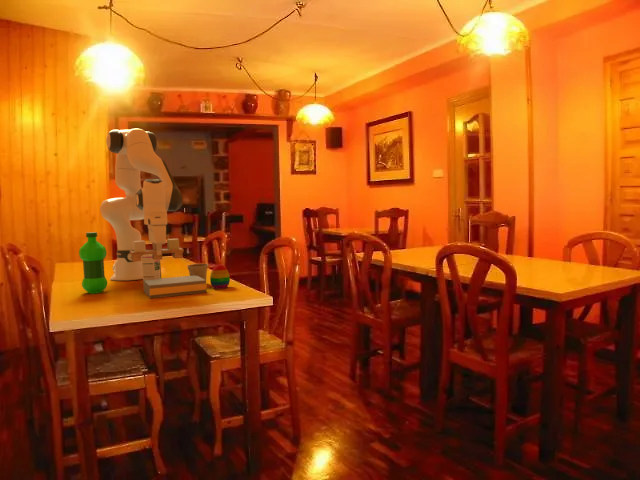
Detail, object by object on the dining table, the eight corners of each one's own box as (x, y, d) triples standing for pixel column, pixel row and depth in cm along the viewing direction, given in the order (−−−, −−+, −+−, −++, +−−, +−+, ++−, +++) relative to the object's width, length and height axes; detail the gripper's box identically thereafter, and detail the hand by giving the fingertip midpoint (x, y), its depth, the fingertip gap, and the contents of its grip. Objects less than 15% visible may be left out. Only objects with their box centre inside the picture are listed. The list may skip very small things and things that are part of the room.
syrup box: (155, 288, 230) (153, 254, 229) (143, 288, 232) (141, 254, 230) (162, 286, 236) (160, 253, 235) (149, 286, 237) (148, 253, 236)
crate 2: (167, 248, 220) (167, 239, 219) (177, 248, 221) (177, 238, 221) (169, 249, 216) (168, 239, 216) (179, 249, 218) (178, 239, 217)
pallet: (130, 260, 215) (129, 251, 214) (181, 256, 223) (180, 247, 223) (131, 261, 209) (131, 252, 209) (184, 257, 218) (183, 249, 217)
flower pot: (183, 285, 236) (182, 266, 235) (195, 282, 244) (194, 263, 244) (201, 286, 232) (201, 266, 232) (213, 283, 241) (212, 263, 240)
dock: (144, 292, 223) (143, 280, 222) (197, 286, 232) (196, 275, 232) (150, 298, 208) (149, 285, 207) (206, 292, 217) (206, 280, 217)
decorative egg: (227, 289, 224) (226, 265, 223) (208, 289, 225) (207, 265, 224) (232, 285, 232) (231, 262, 231) (213, 286, 233) (212, 263, 232)
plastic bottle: (93, 289, 231) (90, 231, 229) (113, 290, 228) (110, 231, 225) (76, 294, 222) (72, 233, 220) (96, 295, 218) (92, 233, 216)
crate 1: (133, 251, 214) (133, 241, 214) (144, 250, 216) (143, 240, 216) (135, 252, 211) (134, 241, 210) (145, 251, 212) (145, 241, 212)
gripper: (144, 219, 223) (145, 252, 224) (151, 221, 205) (153, 257, 206) (159, 218, 226) (161, 251, 227) (168, 220, 207) (169, 256, 208)
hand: (157, 254), depth 216 cm, fingers closed on pallet, 6 cm apart
